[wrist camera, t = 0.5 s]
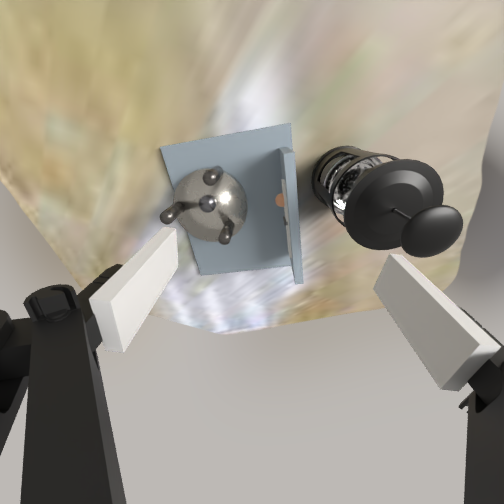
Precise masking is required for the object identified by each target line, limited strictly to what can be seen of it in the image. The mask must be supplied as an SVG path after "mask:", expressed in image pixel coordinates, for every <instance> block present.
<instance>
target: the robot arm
mask: <svg viewBox="0 0 504 504" xmlns="http://www.w3.org/2000/svg"><path fill="white" fill-rule="evenodd" d="M177 268H178V250H177V234H176V228H171V227H163V228H162V229H161V230H160V231H159V232H158V233H157V234H155V235H154V236H153V237H152V238H151V239H150V240H149V241H148V242H147V243H146V244H145V245H144V246H143V247H142V248H141V249H140V250H139V251H138V252H137V253H136V254H135V255H134V256H133V257H132V258H131V259H130V260H129V261H128V262H126V263H125V264H124V265H120V264H116V265H114V266H112V267H110V268H108V269H106V270H105V271H104V272H103V273H102V274H101V275H99V277H97V278H96V279H95V280H94V281H93V283H90V284H89V285H88V286H87V287H86V288H85V289H84V290H83V291H81V292H80V293H79V294H78V295H76V292H75V290H74V288H73V287H72V286H69V285H61V284H60V285H53V286H48V287H45V288H42V289H40V290H37V291H36V292H34V293H32V294H31V295H29V296H28V297H27V298H26V299H25V301H24V303H23V304H24V306H25V308H26V310H27V312H28V314H29V316H30V318H23V319H15V320H11V318H10V316H9V315H8V313H7V312H6V311H3V310H0V455H1V452H2V450H3V448H4V445H5V443H6V440H7V438H8V435H9V433H10V430H11V427H12V425H13V422H14V420H15V417H16V414H17V413H18V410H19V408H20V405H21V403H22V400H23V398H24V395H25V393H26V390H27V388H28V399H27V414H26V429H25V444H24V458H23V472H22V473H23V474H22V487H21V502H20V504H126V499H125V494H124V489H123V483H122V478H121V473H120V468H119V463H118V458H117V453H116V448H115V443H114V438H113V432H112V427H111V422H110V417H109V412H108V407H107V402H106V397H105V392H104V387H103V382H102V376H101V372H100V366H99V361H98V356H97V353H96V348H97V347H98V346H99V345H100V343H101V342H103V345H104V349H105V351H112V352H120V353H124V352H125V350H126V349H127V347H128V345H129V344H130V342H131V341H132V339H133V338H134V336H135V334H136V333H137V331H138V330H139V328H140V326H141V325H142V323H143V322H144V320H145V318H146V317H147V315H148V314H149V312H150V311H151V309H152V307H153V306H154V304H155V303H156V301H157V299H158V298H159V296H160V295H161V293H162V292H163V290H164V288H165V287H166V285H167V284H168V282H169V280H170V279H171V277H172V276H173V274H174V272H175V271H176V269H177ZM373 290H374V291H375V293H376V294H377V296H378V297H379V299H380V300H381V302H382V303H383V305H384V306H385V308H386V309H387V311H388V312H389V314H390V315H391V317H392V318H393V320H394V321H395V323H396V324H397V325H398V327H399V328H400V330H401V331H402V333H403V334H404V336H405V337H406V339H407V340H408V342H409V343H410V345H411V346H412V348H413V349H414V351H415V352H416V354H417V355H418V357H419V358H420V360H421V361H422V363H423V364H424V366H425V367H426V369H427V370H428V372H429V373H430V375H431V376H432V377H433V379H434V380H435V382H436V383H437V385H438V387H439V388H440V389H442V390H451V391H459V390H460V389H461V388H462V387H463V386H464V385H465V384H466V383H467V382H468V383H469V385H470V386H471V387H472V388H473V390H474V391H473V392H472V393H471V394H470V395H469V396H468V397H467V398H466V399H464V400H463V401H462V402H461V404H460V405H459V408H460V409H463V408H464V407H465V406H468V411H467V413H468V427H467V448H466V450H467V451H466V471H465V492H464V504H504V346H503V345H502V344H501V343H500V342H499V341H498V340H497V339H496V338H495V337H493V336H492V335H491V334H490V333H489V332H488V331H487V330H486V329H485V328H482V326H481V325H480V324H479V323H478V322H477V321H475V320H474V318H473V317H472V316H470V315H469V314H468V313H467V312H466V311H465V310H463V309H462V308H460V307H459V306H457V305H456V304H454V303H453V302H452V301H451V300H450V299H449V298H448V297H447V296H446V295H445V294H443V293H442V292H441V291H440V290H439V289H438V288H437V287H436V286H435V285H434V284H433V283H432V282H431V281H429V280H428V279H427V278H426V277H425V276H424V275H423V274H422V273H421V272H420V271H419V270H418V269H416V268H415V267H414V266H413V265H412V264H411V263H410V262H409V261H408V260H407V259H406V258H405V257H404V256H402V255H398V254H390V253H389V255H388V258H387V260H386V262H385V264H384V266H383V268H382V271H381V273H380V275H379V277H378V279H377V281H376V284H375V286H374V288H373Z"/></svg>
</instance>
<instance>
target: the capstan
mask: <svg viewBox="0 0 504 504" xmlns="http://www.w3.org/2000/svg"><path fill="white" fill-rule="evenodd" d="M247 211H248V200H247V196H246V193H245V191H244V189H243V187H242V185H241V184H240V183H239V181H238V180H237V179H236V178H235V177H233V176H232V175H231V174H229V173H228V172H226V171H223V169H222V168H221V167H220V166H214V167H213V168H202V169H198V170H196V171H194V172H192V173H190V174H189V175H187V176H186V177H184V178H183V179H182V180H181V182H180V183H179V184H178V186H177V188H176V190H175V194H174V199H173V205H171V206H170V207H169V208H168V209H166V210H165V211H164V212H163V213H161V214H160V220H161V222H162V223H164V224H170V223H172V222H173V221H174V220H175V219H176V218H177V219H178V221H179V222H180V224H181V225H182V227H183V228H184V229H185V230H186V231H187V232H188V233H190V234H191V235H193V236H194V237H196V238H198V239H201V240H204V241H209V242H219V243H220V244H222V245H227V244H229V243H230V240H231V237H233V236H234V235H235V234H237V233H238V232H239V231H240V229H241V228H242V226H243V225H244V222H245V220H246V216H247Z"/></svg>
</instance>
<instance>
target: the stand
mask: <svg viewBox="0 0 504 504" xmlns="http://www.w3.org/2000/svg"><path fill="white" fill-rule="evenodd" d="M160 149H161V152H162V155H163V158H164V161H165V164H166V167H167V170H168V174H169V177H170V180H171V183H172V186H173V189H174V192H175V190H176V188H177V186H178V184H179V183H180V182H181V180H182V179H183V178H184V177H186V176H187V175H189V174H190V173H192V172H194V171H196V170H198V169H202V168H213V167H214V166H220V167H221V168H222V169H223V171H226V172H228V173H229V174H231V175H232V176H233V177H235V178H236V179H237V180H238V181H239V183H240V184H241V185H242V187H243V189H244V191H245V193H246V196H247V200H248V211H247V216H246V220H245V222H244V225H243V226H242V228H241V229H240V231H239V232H238V233H237V234H235V235H234V236H233V237H231V240H230V243H229V244H227V245H222V244H220V243H219V242H209V241H204V240H201V239H198V238H196V237H194V236H193V235H191V234H190V233H188V232H187V233H188V236H189V239H190V242H191V246H192V249H193V252H194V255H195V258H196V261H197V264H198V267H199V271H200V274H201V276H202V275H211V274H221V273H230V272H239V271H248V270H257V269H267V268H276V267H285V266H292V270H293V275H294V280H295V284H303V269H302V254H301V240H300V225H299V210H298V195H297V180H296V166H295V152H294V151H293V148H292V134H291V123H287V124H282V125H276V126H271V127H266V128H260V129H255V130H249V131H244V132H239V133H233V134H228V135H222V136H217V137H212V138H206V139H201V140H195V141H190V142H184V143H179V144H174V145H168V146H163V147H160Z"/></svg>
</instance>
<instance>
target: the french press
mask: <svg viewBox="0 0 504 504" xmlns="http://www.w3.org/2000/svg"><path fill="white" fill-rule="evenodd" d="M342 155H348V156H346V157H344V158H342V159H341V160H339V161H338V162H337V163H336V164H335V165H334V166H333V167H332V168H331V169H330V171H329V172H328V174H327V176H326V178H325V182H324V186H323V185H322V184H321V183H320V177H321V173H322V171H323V169H324V168H325V166H326V165H327V164H328V163H329V162H330V161H331V160H332V159H334V158H336V157H339V156H342ZM379 156H384V157H388V158H391V159H392V160H393V161H390V162H386V163H382V162H381V161H380V160H379V159H378V158H377V157H379ZM312 189H313V191H314V194H315V195H316V197H317V198H318V199H319V200H320V201H321V202H323V203H324V204H325V205H326V206H328V207H330V209H331V211H332V213H333V215H334V216H335V218H336V219H337V220H338V222H339V223H341V224H342V225H343V226H344V227H346V230H347V232H348V233H349V235H350V236H351V238H352V239H353V240H354V241H356V242H357V243H358V244H360V245H362V246H363V247H366V248H369V249H374V250H389V249H393V248H398V247H400V246H402V248H403V250H404V251H405V252H406V253H408V254H409V255H411V256H414V257H421V258H422V257H431V256H434V255H437V254H439V253H441V252H443V251H445V250H446V249H448V248H449V247H450V246H451V245H453V244H454V243H455V241H456V240H457V239H458V237H459V236H460V234H461V231H462V228H463V219H462V216H461V214H460V213H459V212H458V210H456V209H455V208H453V207H450V206H447V205H442V202H443V195H444V191H443V184H442V181H441V179H440V176H439V175H438V174H437V172H436V171H435V170H434V169H433V168H432V167H430V166H429V165H427V164H426V163H423V162H420V161H417V160H410V159H398V158H396V157H394V156H391V155H386V154H379V153H373V152H368V151H363V150H361V149H359V148H356V147H353V146H340V147H337V148H334V149H332V150H330V151H328V152H327V153H326V154H325V155H323V156H322V157H321V159H320V160H319V161H318V163H317V164H316V166H315V168H314V170H313V174H312ZM335 212H337V213H339V214H342V215H343V216H344V222H342V221H340V220H339V219H338V217H337V216H336V213H335Z"/></svg>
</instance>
